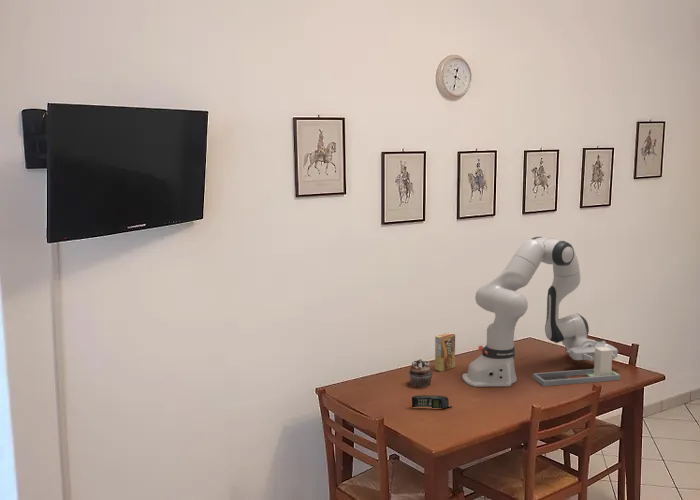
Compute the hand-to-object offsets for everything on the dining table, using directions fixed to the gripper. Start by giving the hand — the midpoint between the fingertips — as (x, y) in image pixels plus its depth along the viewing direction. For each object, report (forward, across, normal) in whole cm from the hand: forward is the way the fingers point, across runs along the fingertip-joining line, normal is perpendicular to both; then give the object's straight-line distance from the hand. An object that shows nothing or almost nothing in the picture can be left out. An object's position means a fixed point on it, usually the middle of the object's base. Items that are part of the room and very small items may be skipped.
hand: (603, 358), depth 279 cm
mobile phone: (+17, -80, +9) cm, 82 cm away
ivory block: (0, 0, +8) cm, 8 cm away
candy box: (-25, -61, +8) cm, 66 cm away
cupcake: (-8, -77, +8) cm, 78 cm away
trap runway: (0, -12, +8) cm, 14 cm away
